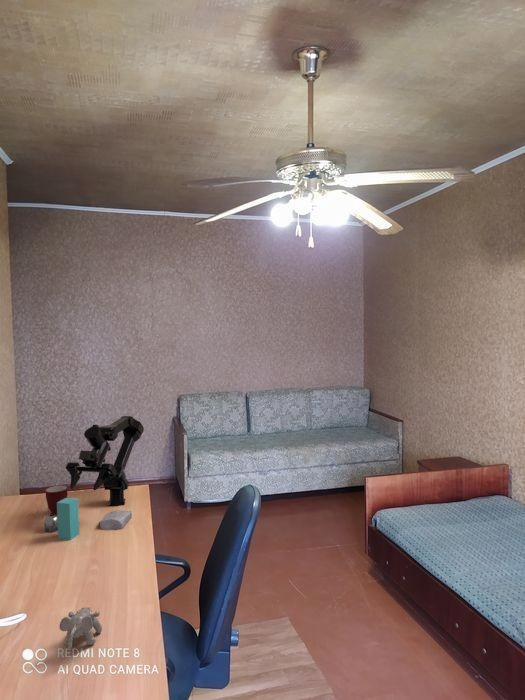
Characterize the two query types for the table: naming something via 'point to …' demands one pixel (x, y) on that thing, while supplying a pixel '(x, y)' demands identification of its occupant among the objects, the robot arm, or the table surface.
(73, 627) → the elephant statuette
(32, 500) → the table surface
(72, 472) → the robot arm
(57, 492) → the mug
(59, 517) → the teal block
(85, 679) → the table surface
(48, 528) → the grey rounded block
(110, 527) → the stone block
